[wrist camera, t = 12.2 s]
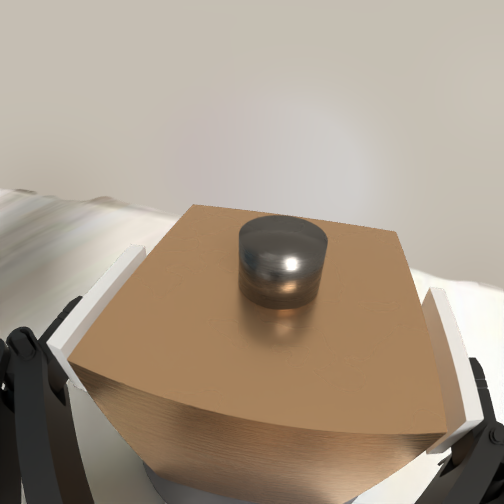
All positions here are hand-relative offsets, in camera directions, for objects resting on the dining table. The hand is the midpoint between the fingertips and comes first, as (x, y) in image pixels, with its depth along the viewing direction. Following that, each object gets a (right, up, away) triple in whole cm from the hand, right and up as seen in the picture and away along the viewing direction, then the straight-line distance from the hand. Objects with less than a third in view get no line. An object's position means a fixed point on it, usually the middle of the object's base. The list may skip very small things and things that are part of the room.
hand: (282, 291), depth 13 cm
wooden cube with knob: (-1, -8, +2) cm, 9 cm away
